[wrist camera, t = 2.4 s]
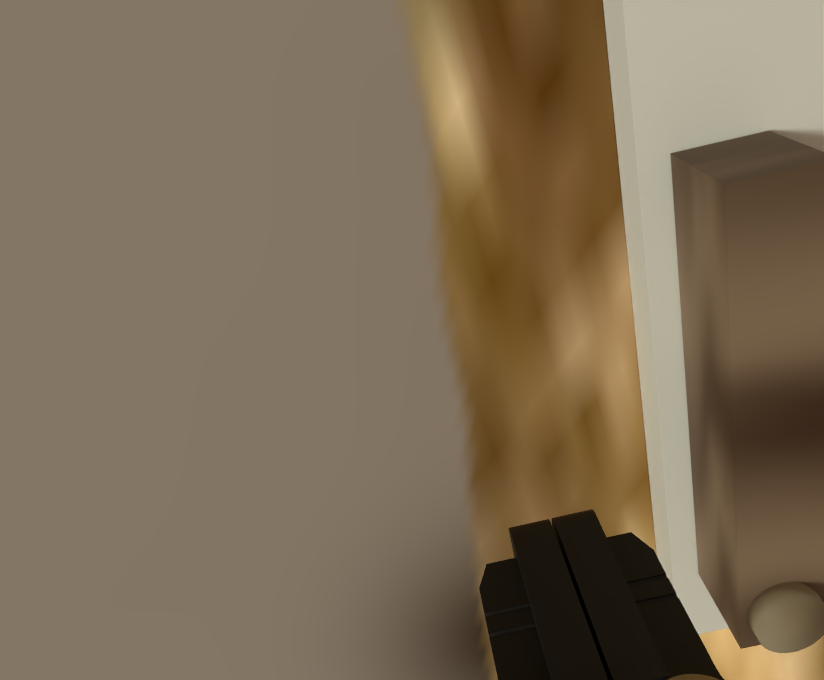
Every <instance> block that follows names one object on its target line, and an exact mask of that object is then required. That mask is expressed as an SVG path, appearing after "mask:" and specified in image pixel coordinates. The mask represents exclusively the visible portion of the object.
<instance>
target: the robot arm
mask: <svg viewBox="0 0 824 680" xmlns="http://www.w3.org/2000/svg"><path fill="white" fill-rule="evenodd" d="M509 533H510V538H511V543H512V548H513V553H514V558H513V559H508V560H503V561H499V562H494V563H490V564H487V565H486V568H485V571H484V575H483V578H482V581H481V584H480V588H479V589H480V594H481V599H482V604H483V609H484V613H485V618H486V623H487V628H488V633H489V637H490V642H491V647H492V652H493V657H494V662H495V666H496V671H497V676H498V680H724V679H723V678H722V677H721V675H720V674H719V672H718V670H717V669H716V667H715V665H714V663H713V661H712V660H711V658H710V656H709V654H708V652H707V650H706V648H705V646H704V644H703V643H702V641H701V639H700V637H699V635H698V633H697V631H696V629H695V627H694V625H693V624H692V622H691V620H690V618H689V616H688V614H687V612H686V610H685V608H684V607H683V605H682V603H681V601H680V599H679V598H678V597H677V595H676V591H675V590H674V588H673V586H672V584H671V582H670V580H669V578H667V576H666V573H665V571H664V569H663V567H662V565H661V563H660V561H659V559H658V557H657V555H656V554H655V552H654V550H653V549H652V548H650V547H649V546H648V545H647V544H645V543H644V542H643V541H641V540H640V539H639V538H638V537H636V536H635V535H634V534H632V533H631V532H630V533H625V534H621V535H616V536H612V537H607V538H606V536H605V534H604V531H603V529H602V527H601V525H600V523H599V520H598V518H597V516H596V514H595V512H594V511H593V510H587V511H583V512H578V513H573V514H569V515H564V516H560V517H555V518H552V525H551V522H550V520H549V519H547V520H543V521H538V522H534V523H529V524H525V525H520V526H515V527H511V528H509Z"/></svg>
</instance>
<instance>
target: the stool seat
mask: <svg viewBox="0 0 824 680" xmlns="http://www.w3.org/2000/svg"><path fill="white" fill-rule="evenodd" d="M603 6H604V16H605V26H606V36H607V47H608V57H609V67H610V78H611V88H612V98H613V109H614V119H615V129H616V139H617V150H618V160H619V170H620V181H621V191H622V201H623V211H624V222H625V232H626V242H627V253H628V263H629V273H630V284H631V294H632V304H633V314H634V325H635V335H636V345H637V356H638V366H639V376H640V386H641V397H642V407H643V417H644V428H645V438H646V448H647V459H648V469H649V479H650V489H651V500H652V510H653V520H654V531H655V541H656V551H657V557H658V559H659V561H660V563H661V565H662V567H663V569H664V571H665V573H666V576H667V578H669V580H670V582H671V584H672V586H673V588H674V590H675V591H676V595H677V597H678V598H679V599H680V601H681V603H682V605H683V607H684V608H685V610H686V612H687V614H688V616H689V618H690V620H691V622H692V624H693V625H694V627H695V629H696V631H697V633H698V634H702V633H706V632H711V631H716V630H720V629H725V628H729V627H728V625H727V623H726V622H725V620H724V618H723V616H722V615H721V613H720V611H719V609H718V608H717V606H716V604H715V602H714V600H713V599H712V597H711V595H710V593H709V592H708V590H707V588H706V586H705V585H704V583H703V581H702V579H701V578H700V576H699V574H698V561H697V546H696V531H695V516H694V501H693V486H692V471H691V456H690V441H689V426H688V411H687V396H686V381H685V366H684V351H683V336H682V321H681V306H680V291H679V276H678V261H677V246H676V231H675V216H674V201H673V186H672V171H671V156H670V153H674V152H678V151H683V150H687V149H691V148H696V147H700V146H704V145H708V144H713V143H717V142H721V141H726V140H730V139H734V138H739V137H743V136H747V135H752V134H756V133H760V132H764V131H771V132H774V133H777V134H779V135H782V136H784V137H787V138H789V139H792V140H795V141H797V142H800V143H802V144H805V145H807V146H810V147H812V148H815V149H818V150H820V151H823V152H824V0H603Z"/></svg>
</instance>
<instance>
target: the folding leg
mask: <svg viewBox="0 0 824 680" xmlns="http://www.w3.org/2000/svg"><path fill="white" fill-rule="evenodd" d="M670 156H671V171H672V186H673V201H674V216H675V231H676V246H677V261H678V276H679V291H680V306H681V321H682V336H683V351H684V366H685V381H686V396H687V411H688V426H689V441H690V456H691V471H692V486H693V501H694V516H695V531H696V546H697V561H698V574H699V576H700V578H701V579H702V581H703V583H704V585H705V586H706V588H707V590H708V592H709V593H710V595H711V597H712V599H713V600H714V602H715V604H716V606H717V608H718V609H719V611H720V613H721V615H722V616H723V618H724V620H725V622H726V623H727V625H728V627H729V629H730V630H731V632H732V634H733V636H734V637H735V639H736V641H737V643H738V644H739V646H740V648H741V649H742V648H746V647H751V646H756V645H762V646H763V647H765V648H766V649H768V650H770V651H773V652H778V653H790V652H795V651H799V650H802V649H804V648H806V647H808V646H810V645H812V644H813V643H815V642H816V641H818V640H819V639H820V638H821V637H822V636H823V635H824V152H823V151H820V150H818V149H815V148H812V147H810V146H807V145H805V144H802V143H800V142H797V141H795V140H792V139H789V138H787V137H784V136H782V135H779V134H777V133H774V132H771V131H764V132H760V133H756V134H752V135H747V136H743V137H739V138H734V139H730V140H726V141H721V142H717V143H713V144H708V145H704V146H700V147H696V148H691V149H687V150H683V151H678V152H674V153H670Z"/></svg>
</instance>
